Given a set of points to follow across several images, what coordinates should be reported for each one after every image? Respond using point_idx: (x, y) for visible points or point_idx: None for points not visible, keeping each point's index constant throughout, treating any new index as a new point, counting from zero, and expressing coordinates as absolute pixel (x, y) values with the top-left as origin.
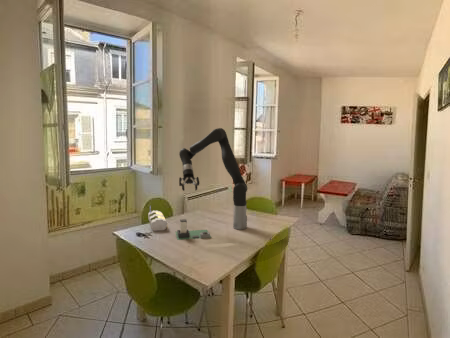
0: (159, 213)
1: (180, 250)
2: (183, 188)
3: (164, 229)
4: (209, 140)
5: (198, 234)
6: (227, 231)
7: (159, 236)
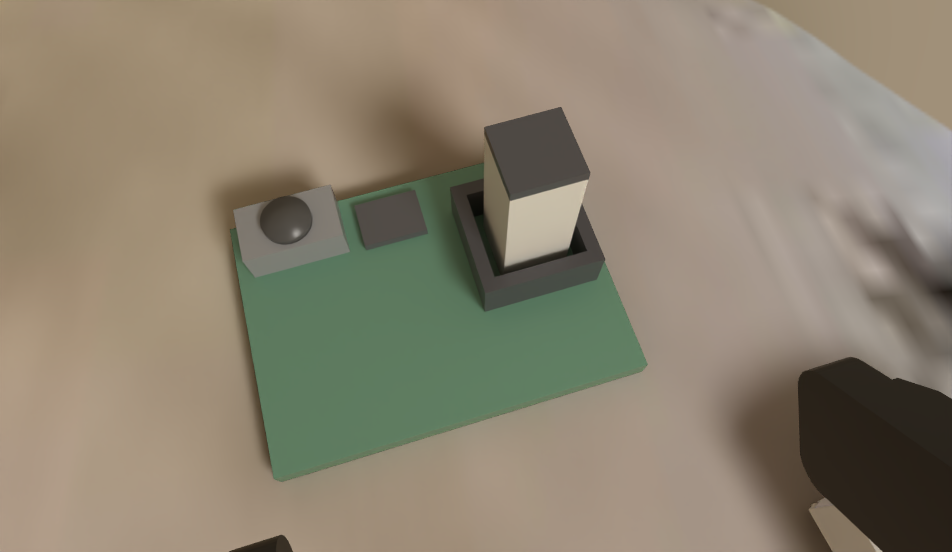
0: None
1: (486, 14)
2: (875, 371)
3: (821, 500)
4: None
5: (367, 300)
6: (19, 520)
7: (775, 274)
